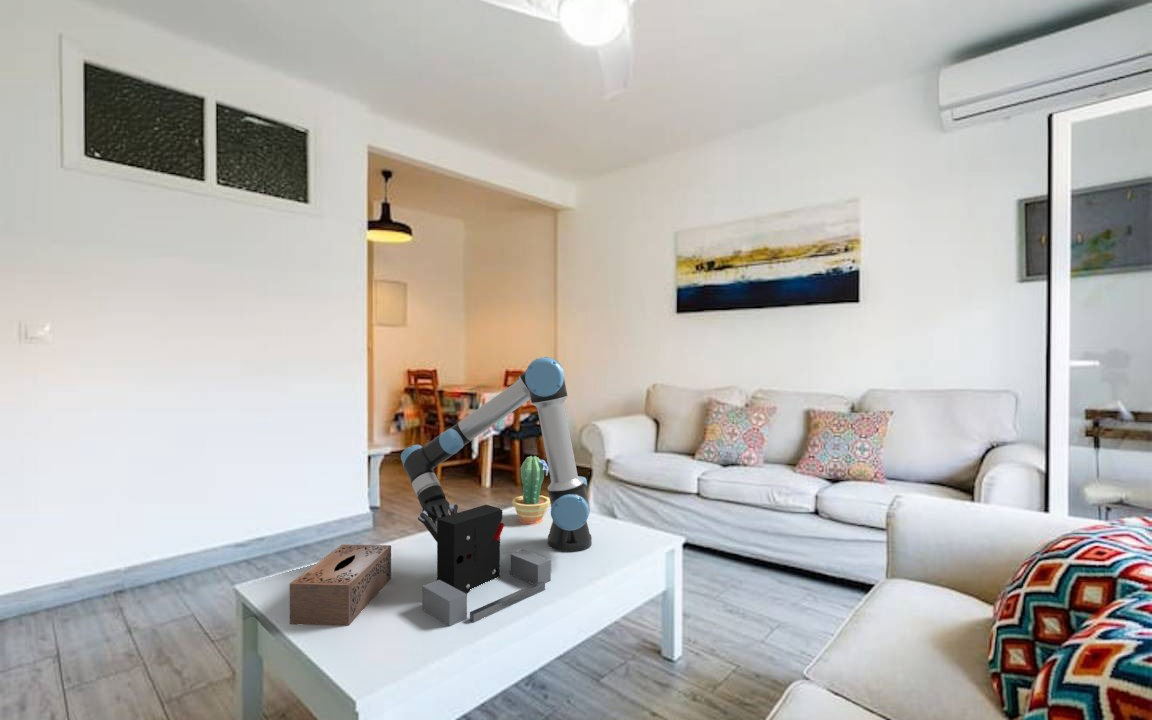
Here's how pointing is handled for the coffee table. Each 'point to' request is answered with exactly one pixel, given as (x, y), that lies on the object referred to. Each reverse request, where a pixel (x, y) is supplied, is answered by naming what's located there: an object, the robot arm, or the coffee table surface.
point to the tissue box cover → (340, 585)
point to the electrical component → (469, 547)
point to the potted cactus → (532, 492)
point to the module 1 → (444, 602)
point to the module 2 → (530, 567)
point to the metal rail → (506, 601)
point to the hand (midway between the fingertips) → (460, 560)
